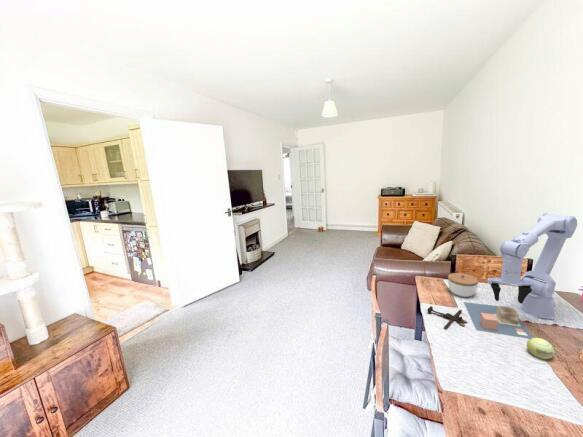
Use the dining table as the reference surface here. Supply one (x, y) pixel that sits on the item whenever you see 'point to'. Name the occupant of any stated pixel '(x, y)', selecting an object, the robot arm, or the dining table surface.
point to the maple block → (507, 315)
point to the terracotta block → (489, 321)
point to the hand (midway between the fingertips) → (508, 301)
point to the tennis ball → (540, 348)
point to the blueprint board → (503, 328)
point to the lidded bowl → (462, 284)
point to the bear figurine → (448, 317)
